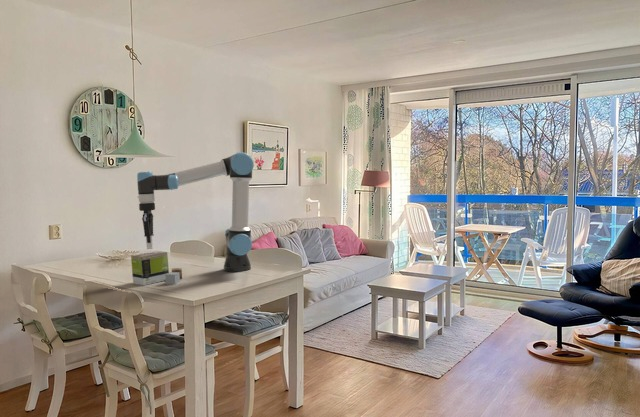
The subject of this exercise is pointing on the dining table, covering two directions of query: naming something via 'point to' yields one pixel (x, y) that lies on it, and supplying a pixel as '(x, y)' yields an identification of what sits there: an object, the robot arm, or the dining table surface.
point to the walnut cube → (178, 271)
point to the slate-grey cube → (172, 278)
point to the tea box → (149, 267)
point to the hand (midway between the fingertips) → (149, 248)
